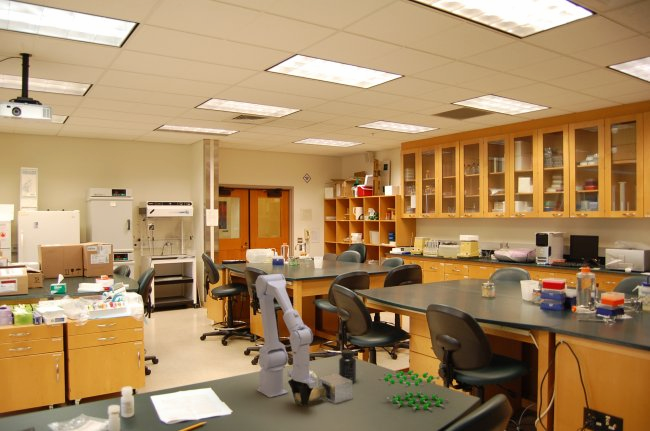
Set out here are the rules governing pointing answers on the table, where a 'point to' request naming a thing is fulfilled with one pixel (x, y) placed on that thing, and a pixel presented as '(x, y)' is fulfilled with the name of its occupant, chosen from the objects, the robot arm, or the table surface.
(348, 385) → the housing
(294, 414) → the table surface
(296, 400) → the amber cylinder
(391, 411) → the table surface
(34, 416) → the table surface
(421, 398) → the molecule models
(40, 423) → the table surface
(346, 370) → the supplement bottle
